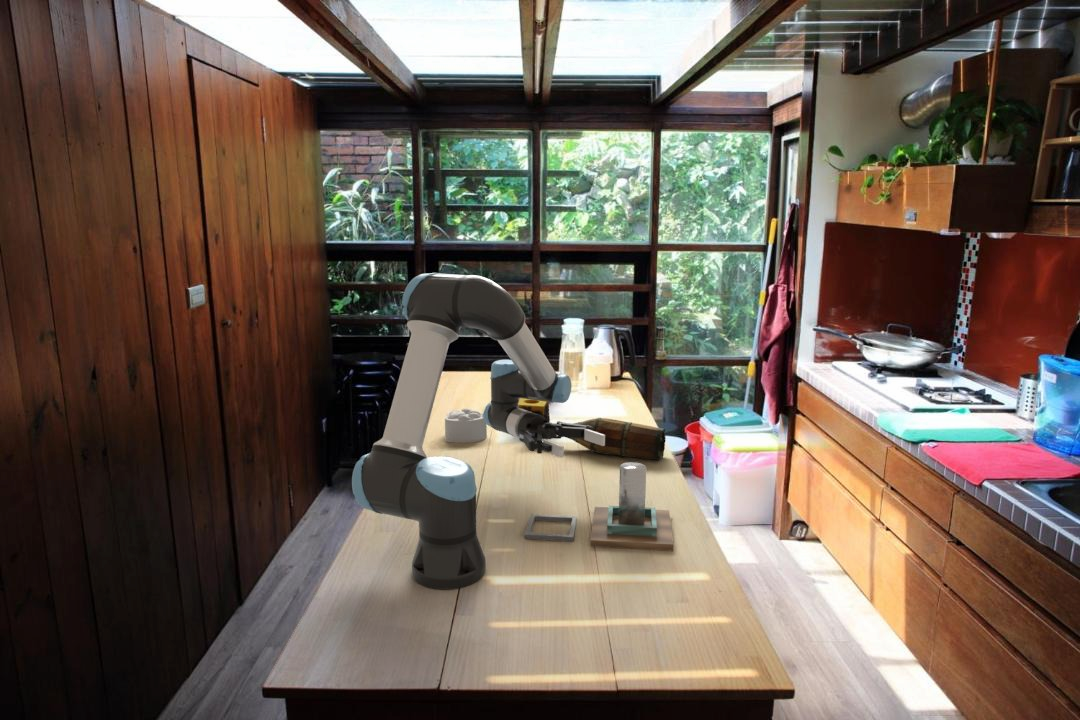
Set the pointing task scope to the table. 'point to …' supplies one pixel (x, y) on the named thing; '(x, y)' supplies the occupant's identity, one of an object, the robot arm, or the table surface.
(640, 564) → the table surface
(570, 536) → the frame
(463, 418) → the lumpy-topped squat cylinder
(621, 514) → the billet
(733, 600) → the table surface
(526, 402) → the candle
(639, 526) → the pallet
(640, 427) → the decorative bottle
